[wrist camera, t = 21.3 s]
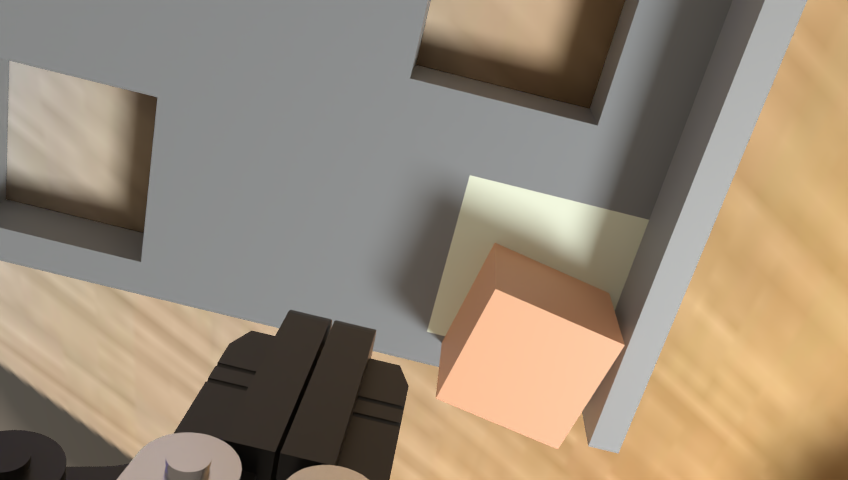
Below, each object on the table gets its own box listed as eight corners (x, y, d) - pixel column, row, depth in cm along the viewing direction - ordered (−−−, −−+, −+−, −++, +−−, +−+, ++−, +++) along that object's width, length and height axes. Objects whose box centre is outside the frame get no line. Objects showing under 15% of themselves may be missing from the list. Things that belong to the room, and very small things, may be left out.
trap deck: (781, -94, 28) (845, -92, 23) (600, 375, 36) (618, 453, 31) (-99, -323, 27) (-232, -372, 22) (-85, 208, 35) (-180, 260, 30)
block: (609, 293, 32) (625, 345, 28) (550, 388, 34) (557, 449, 30) (494, 242, 31) (495, 288, 28) (441, 342, 33) (435, 398, 29)
